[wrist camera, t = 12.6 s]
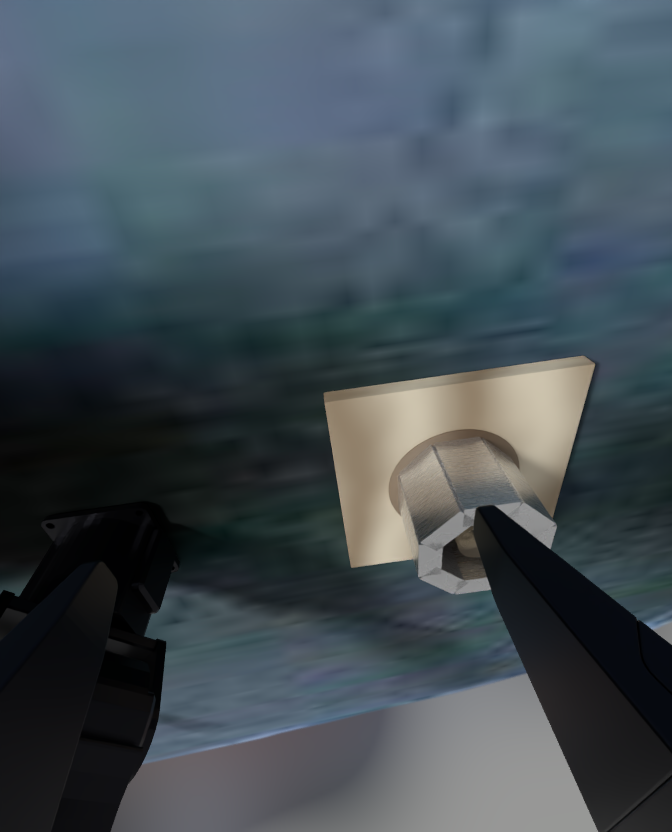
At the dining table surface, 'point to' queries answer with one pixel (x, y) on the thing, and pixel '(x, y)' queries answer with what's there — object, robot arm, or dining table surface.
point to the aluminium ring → (462, 508)
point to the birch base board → (448, 438)
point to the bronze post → (467, 543)
